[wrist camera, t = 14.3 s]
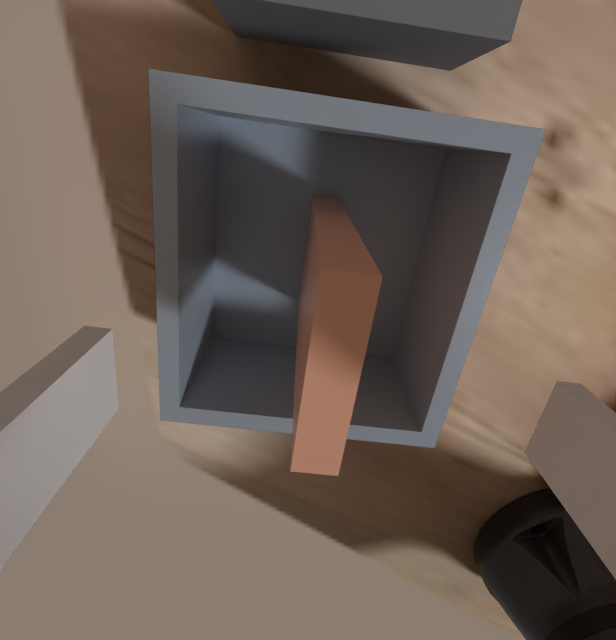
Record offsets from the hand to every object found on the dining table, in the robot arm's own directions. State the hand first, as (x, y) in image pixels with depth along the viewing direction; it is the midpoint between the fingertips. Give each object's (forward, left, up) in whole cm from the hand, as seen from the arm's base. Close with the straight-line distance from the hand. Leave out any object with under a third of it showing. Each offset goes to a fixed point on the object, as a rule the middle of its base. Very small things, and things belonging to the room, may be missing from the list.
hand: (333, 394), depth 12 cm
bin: (0, 0, -16) cm, 16 cm away
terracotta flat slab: (0, 0, -15) cm, 15 cm away
